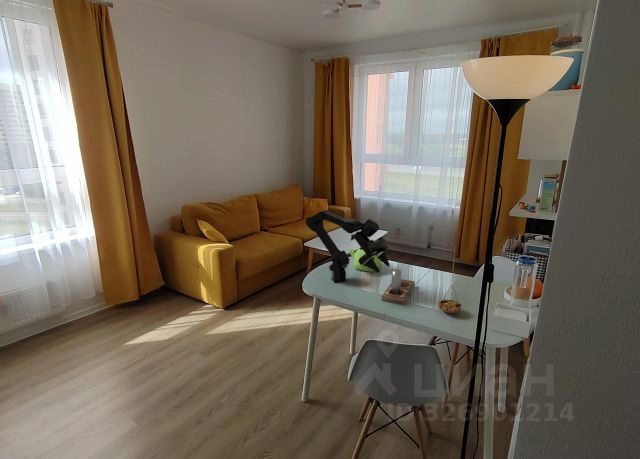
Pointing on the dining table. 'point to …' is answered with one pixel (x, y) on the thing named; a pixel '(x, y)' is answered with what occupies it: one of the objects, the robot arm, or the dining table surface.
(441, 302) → the bird feeder
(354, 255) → the teapot
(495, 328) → the dining table surface
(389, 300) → the brown flat block
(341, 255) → the robot arm
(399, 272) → the peg
